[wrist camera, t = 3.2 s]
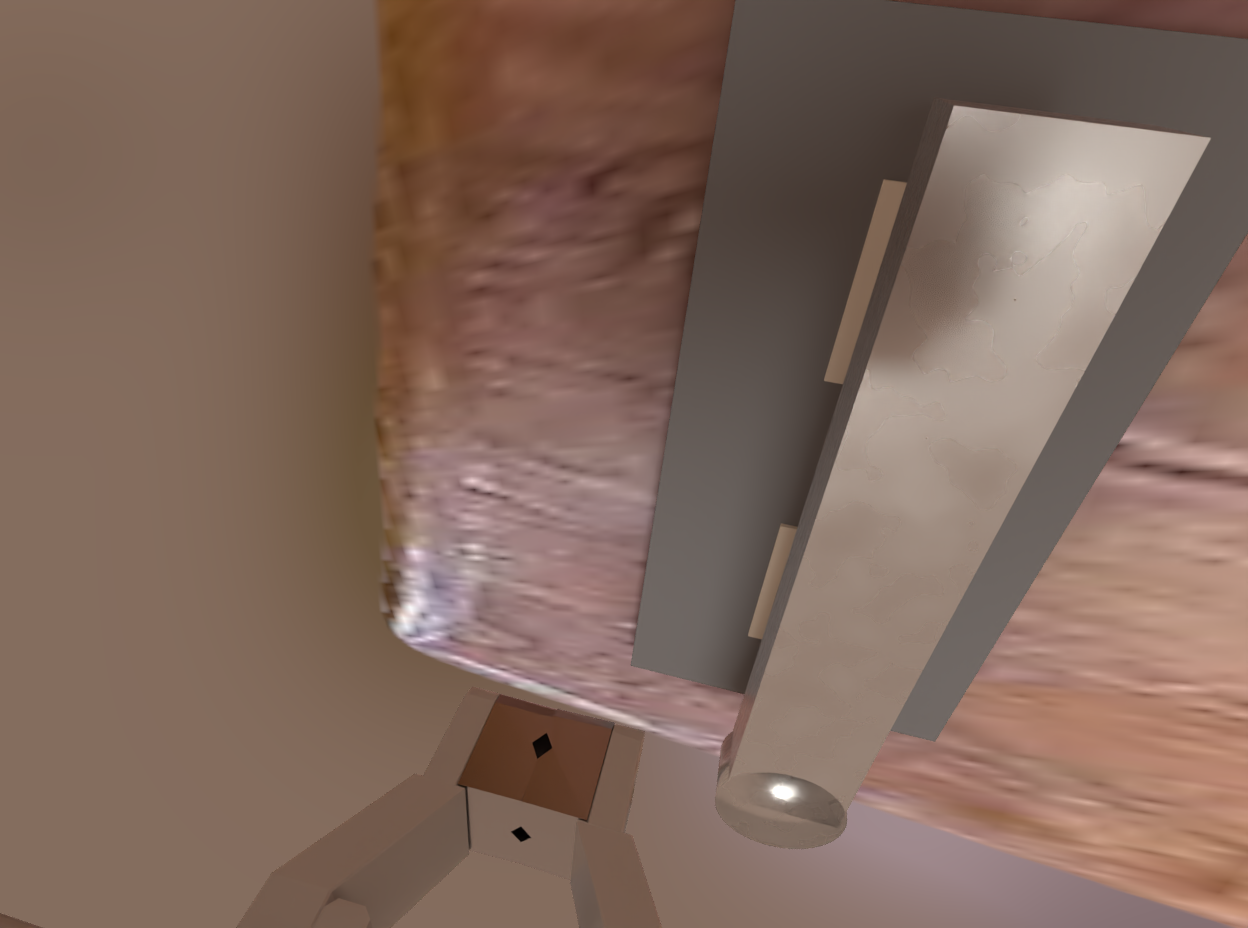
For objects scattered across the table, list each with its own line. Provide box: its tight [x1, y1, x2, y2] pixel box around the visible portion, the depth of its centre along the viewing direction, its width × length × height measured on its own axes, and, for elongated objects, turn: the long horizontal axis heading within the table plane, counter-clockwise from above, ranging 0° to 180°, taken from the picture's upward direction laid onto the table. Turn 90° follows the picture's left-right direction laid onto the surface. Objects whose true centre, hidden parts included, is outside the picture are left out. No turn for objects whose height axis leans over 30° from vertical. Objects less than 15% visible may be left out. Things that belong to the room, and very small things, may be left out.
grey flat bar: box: [715, 98, 1211, 849], centre depth 23 cm, size 30×6×2 cm, turn 174°
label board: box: [631, 0, 1248, 742], centre depth 25 cm, size 30×16×5 cm, turn 174°
